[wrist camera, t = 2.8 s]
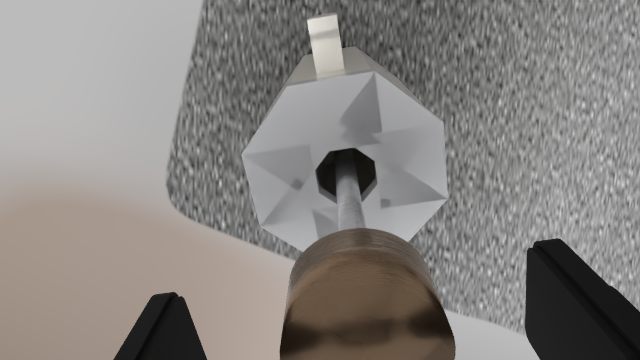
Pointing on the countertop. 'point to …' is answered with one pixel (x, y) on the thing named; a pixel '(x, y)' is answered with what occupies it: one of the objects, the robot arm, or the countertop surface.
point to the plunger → (362, 292)
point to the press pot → (344, 146)
